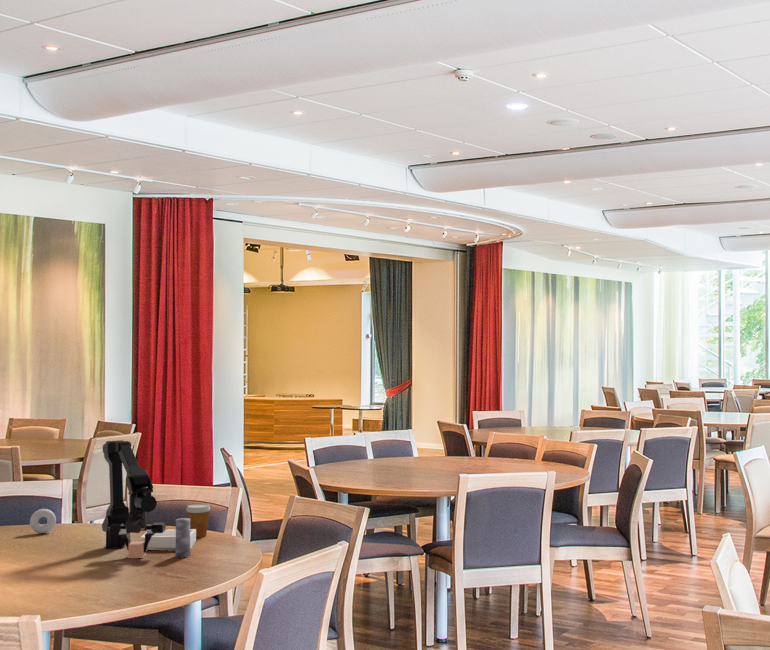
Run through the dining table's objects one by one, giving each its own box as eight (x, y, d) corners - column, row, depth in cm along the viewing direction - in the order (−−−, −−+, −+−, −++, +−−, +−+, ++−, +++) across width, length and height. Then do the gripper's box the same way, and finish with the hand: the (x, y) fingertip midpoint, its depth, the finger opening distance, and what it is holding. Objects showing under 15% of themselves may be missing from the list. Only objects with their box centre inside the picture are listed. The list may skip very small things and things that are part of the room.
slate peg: (174, 557, 297) (174, 520, 298) (177, 554, 302) (177, 518, 303) (188, 557, 298) (189, 520, 298) (191, 554, 303) (191, 517, 303)
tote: (140, 551, 309) (140, 537, 309) (148, 543, 323) (148, 529, 323) (190, 550, 310) (190, 536, 310) (196, 542, 324) (196, 529, 324)
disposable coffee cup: (213, 533, 340) (213, 503, 341) (206, 538, 331) (206, 507, 331) (190, 533, 341) (190, 503, 342) (182, 538, 332) (182, 507, 332)
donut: (29, 535, 339) (29, 510, 339) (29, 533, 342) (29, 508, 343) (56, 533, 343) (56, 508, 343) (55, 531, 346) (56, 507, 346)
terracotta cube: (128, 558, 296) (128, 544, 297) (131, 555, 301) (131, 541, 302) (142, 558, 297) (142, 544, 297) (145, 555, 302) (145, 541, 302)
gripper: (105, 512, 291) (104, 558, 290) (159, 511, 292) (159, 557, 292) (113, 507, 302) (112, 551, 301) (165, 506, 304) (165, 550, 303)
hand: (137, 552), depth 299 cm, fingers closed on terracotta cube, 5 cm apart
